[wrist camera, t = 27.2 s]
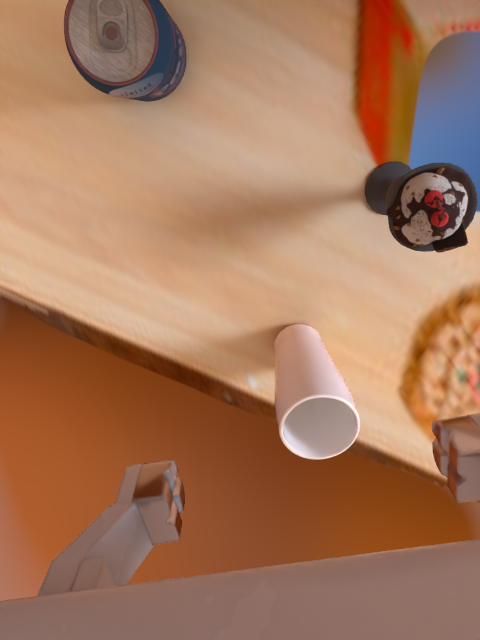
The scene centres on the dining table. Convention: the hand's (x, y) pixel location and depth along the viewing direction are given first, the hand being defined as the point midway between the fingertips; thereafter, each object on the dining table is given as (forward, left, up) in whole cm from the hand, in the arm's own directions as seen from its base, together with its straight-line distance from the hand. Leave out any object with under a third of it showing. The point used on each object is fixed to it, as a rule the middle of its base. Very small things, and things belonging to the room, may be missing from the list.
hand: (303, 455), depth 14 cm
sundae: (-13, -1, -33) cm, 36 cm away
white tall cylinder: (-2, +14, -33) cm, 36 cm away
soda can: (+7, -16, -33) cm, 38 cm away
